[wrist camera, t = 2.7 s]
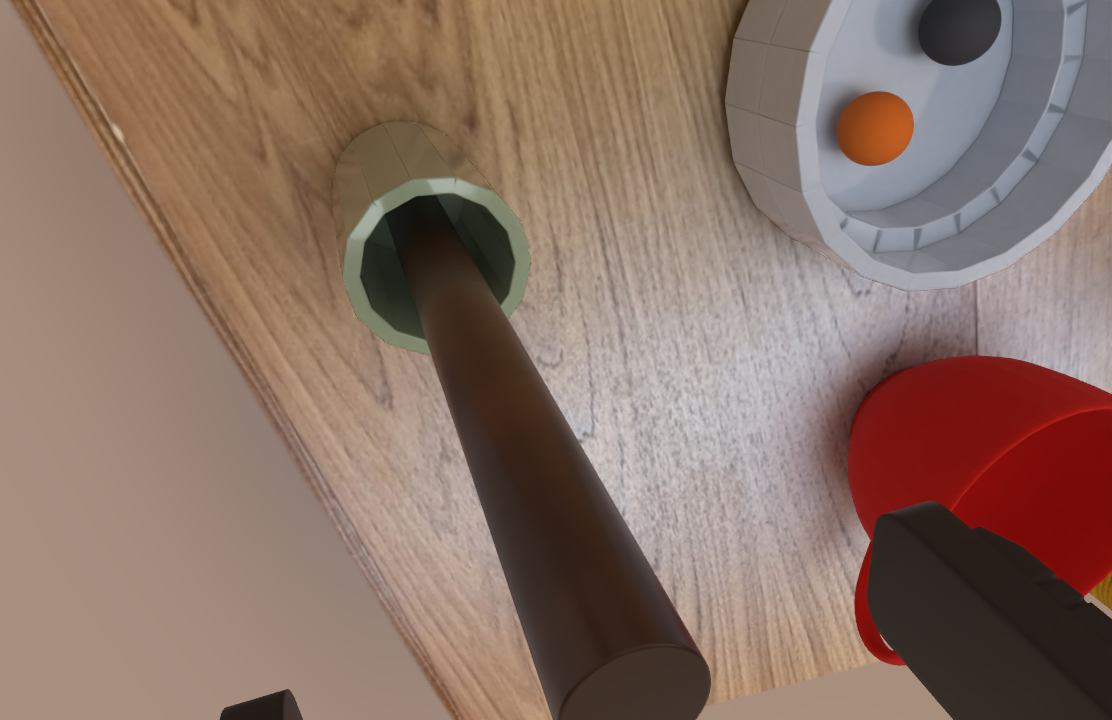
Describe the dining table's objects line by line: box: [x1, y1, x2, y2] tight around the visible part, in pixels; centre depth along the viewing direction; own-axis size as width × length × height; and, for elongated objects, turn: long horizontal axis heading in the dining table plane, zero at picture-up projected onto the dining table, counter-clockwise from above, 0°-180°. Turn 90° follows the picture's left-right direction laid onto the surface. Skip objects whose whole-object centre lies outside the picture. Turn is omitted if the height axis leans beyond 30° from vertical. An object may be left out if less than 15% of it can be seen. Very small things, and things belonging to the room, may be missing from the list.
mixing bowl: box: [725, 0, 1112, 291], centre depth 32 cm, size 16×16×6 cm
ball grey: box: [918, 0, 1002, 66], centre depth 32 cm, size 3×3×3 cm
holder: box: [332, 120, 531, 355], centre depth 27 cm, size 5×6×9 cm
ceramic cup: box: [848, 355, 1112, 666], centre depth 40 cm, size 13×17×10 cm
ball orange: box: [837, 91, 914, 166], centre depth 33 cm, size 3×3×3 cm
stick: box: [385, 195, 711, 720], centre depth 20 cm, size 2×2×24 cm
